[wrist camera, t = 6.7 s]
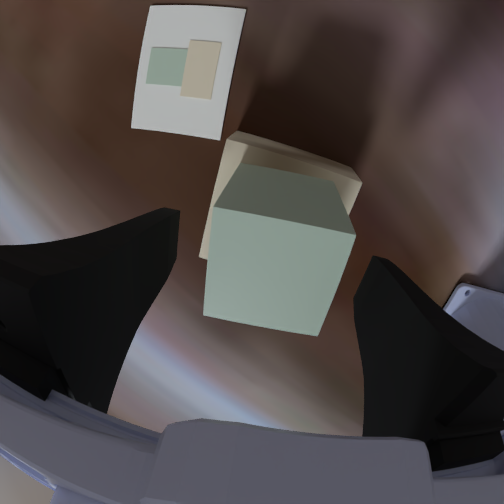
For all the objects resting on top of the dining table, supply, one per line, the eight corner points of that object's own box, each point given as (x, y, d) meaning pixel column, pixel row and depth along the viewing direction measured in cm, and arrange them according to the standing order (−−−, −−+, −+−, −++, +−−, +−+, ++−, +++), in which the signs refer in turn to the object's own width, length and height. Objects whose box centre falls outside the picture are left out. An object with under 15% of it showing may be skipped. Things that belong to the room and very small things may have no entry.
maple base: (349, 165, 15) (362, 182, 12) (310, 259, 18) (313, 290, 15) (238, 129, 15) (226, 138, 12) (212, 230, 18) (199, 256, 15)
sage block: (333, 181, 12) (356, 235, 8) (311, 260, 15) (317, 336, 10) (240, 162, 13) (213, 206, 8) (228, 244, 15) (203, 315, 10)
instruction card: (246, 9, 11) (245, 9, 11) (220, 140, 15) (219, 140, 14) (151, 5, 11) (149, 5, 11) (131, 127, 15) (130, 127, 15)
